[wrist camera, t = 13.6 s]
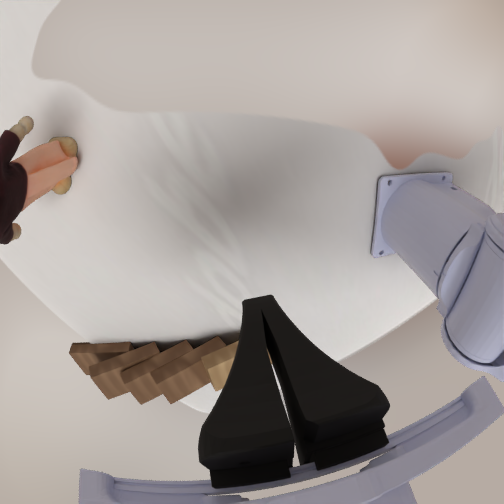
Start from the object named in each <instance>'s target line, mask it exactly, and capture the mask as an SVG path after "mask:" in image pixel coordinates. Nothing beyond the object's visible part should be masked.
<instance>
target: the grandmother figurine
mask: <svg viewBox="0 0 504 504" xmlns="http://www.w3.org/2000/svg"><path fill="white" fill-rule="evenodd" d="M33 126H34V121H33V119H32V118H31V117H29V116H25V117H23V118H22V119H21V120H20V121H19V122H18V124H16V125H14V126H13V127H12V128H11V129H10V130H5V131H4V132H3V134H2V135H1V137H0V244H8V243H9V242H10V241H12V240H14V239H17V238H19V237H20V235H21V227H20V226H19V225H18V224H16V223H13V224H12V222H13V221H14V220H15V219H16V217H17V216H18V215H19V213H20V212H21V211H23V210H24V209H25V208H26V207H27V206H29V205H30V204H31V203H32V202H34V201H35V200H37V199H38V198H40V197H41V196H43V195H44V194H46V193H47V192H49V191H50V190H51V189H52V190H53V191H54V192H55V193H56V194H65V193H66V192H67V191H68V190H69V188H70V186H71V178H70V175H72V174H73V173H74V172H75V170H76V168H77V164H78V159H77V157H76V154H77V144H76V141H75V140H74V139H72V138H70V137H55V138H52V139H51V140H50V141H49V143H46V144H42V145H39V146H37V147H36V148H34V149H32V150H30V151H28V152H27V153H25V154H24V155H22V156H21V157H19V158H17V159H15V160H13V161H11V159H12V158H13V156H14V155H15V153H16V151H17V149H18V146H19V144H20V142H21V141H22V140H23V138H24V136H25V135H26V134H28V133H29V132H30V131H31V130H32V129H33ZM10 161H11V162H10Z"/></svg>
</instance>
